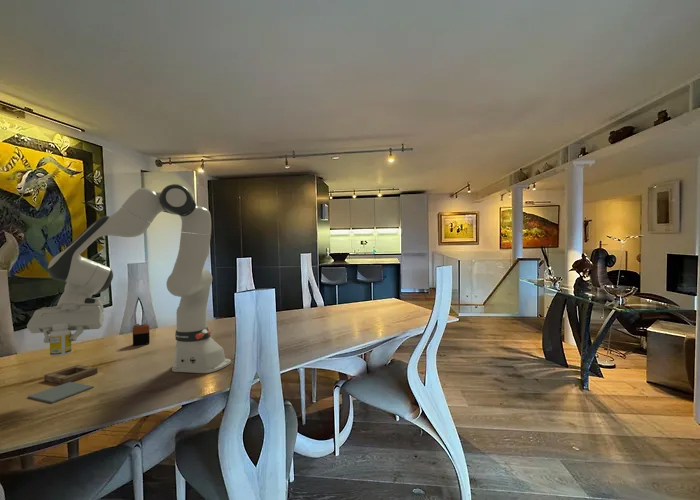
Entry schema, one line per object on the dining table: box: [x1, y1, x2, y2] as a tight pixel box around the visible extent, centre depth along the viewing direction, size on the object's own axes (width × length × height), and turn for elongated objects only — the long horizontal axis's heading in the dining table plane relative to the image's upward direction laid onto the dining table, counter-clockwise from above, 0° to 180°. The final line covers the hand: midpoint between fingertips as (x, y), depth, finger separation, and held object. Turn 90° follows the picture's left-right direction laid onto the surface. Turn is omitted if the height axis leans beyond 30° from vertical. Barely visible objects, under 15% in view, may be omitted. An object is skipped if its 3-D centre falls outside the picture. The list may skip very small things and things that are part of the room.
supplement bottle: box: [49, 323, 73, 357], centre depth 111 cm, size 5×5×10 cm
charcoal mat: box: [27, 381, 94, 404], centre depth 111 cm, size 12×12×1 cm
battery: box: [132, 322, 151, 347], centre depth 166 cm, size 4×7×10 cm, turn 119°
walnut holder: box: [43, 364, 99, 385], centre depth 124 cm, size 11×11×2 cm
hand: (59, 341), depth 110 cm, fingers closed on supplement bottle, 5 cm apart
